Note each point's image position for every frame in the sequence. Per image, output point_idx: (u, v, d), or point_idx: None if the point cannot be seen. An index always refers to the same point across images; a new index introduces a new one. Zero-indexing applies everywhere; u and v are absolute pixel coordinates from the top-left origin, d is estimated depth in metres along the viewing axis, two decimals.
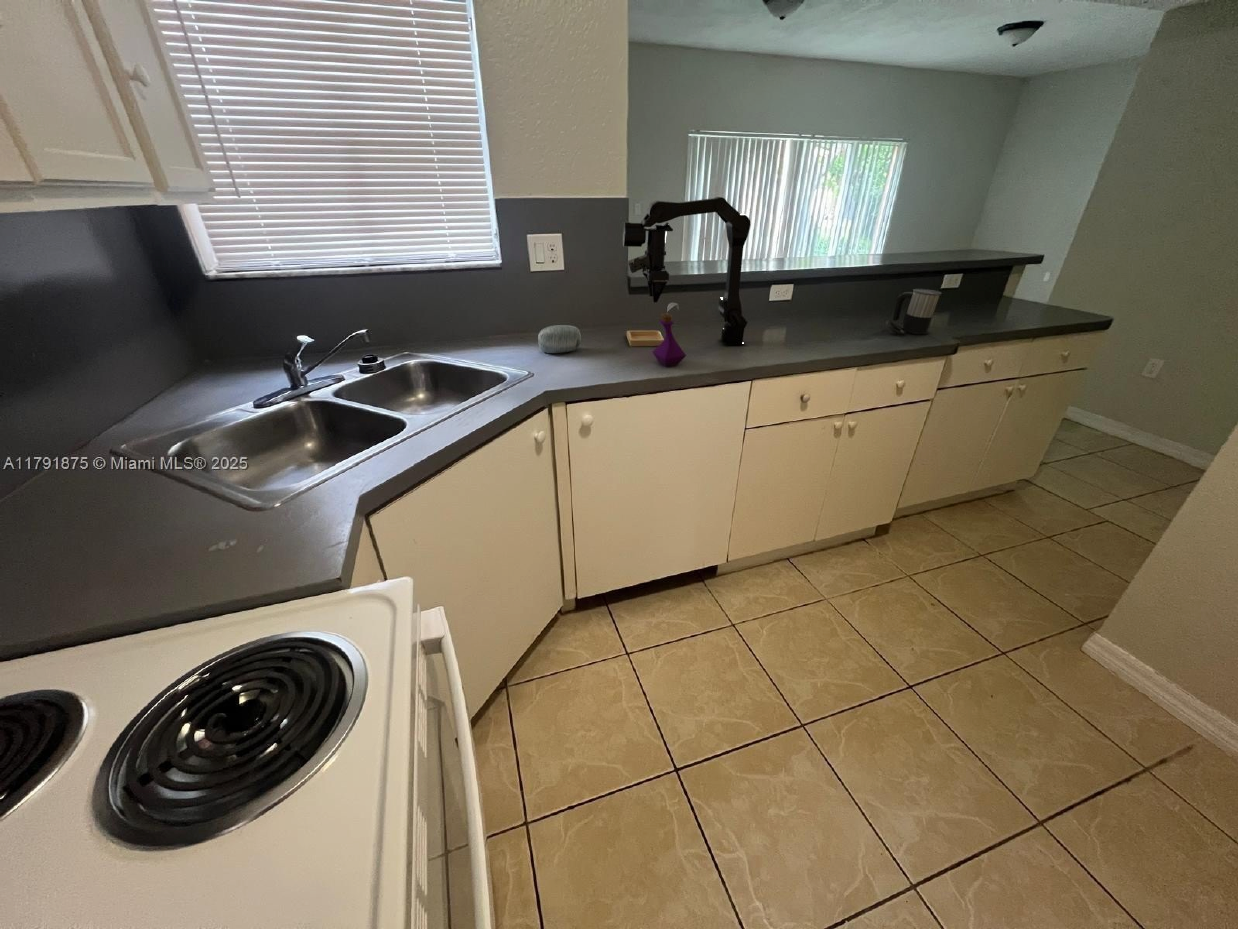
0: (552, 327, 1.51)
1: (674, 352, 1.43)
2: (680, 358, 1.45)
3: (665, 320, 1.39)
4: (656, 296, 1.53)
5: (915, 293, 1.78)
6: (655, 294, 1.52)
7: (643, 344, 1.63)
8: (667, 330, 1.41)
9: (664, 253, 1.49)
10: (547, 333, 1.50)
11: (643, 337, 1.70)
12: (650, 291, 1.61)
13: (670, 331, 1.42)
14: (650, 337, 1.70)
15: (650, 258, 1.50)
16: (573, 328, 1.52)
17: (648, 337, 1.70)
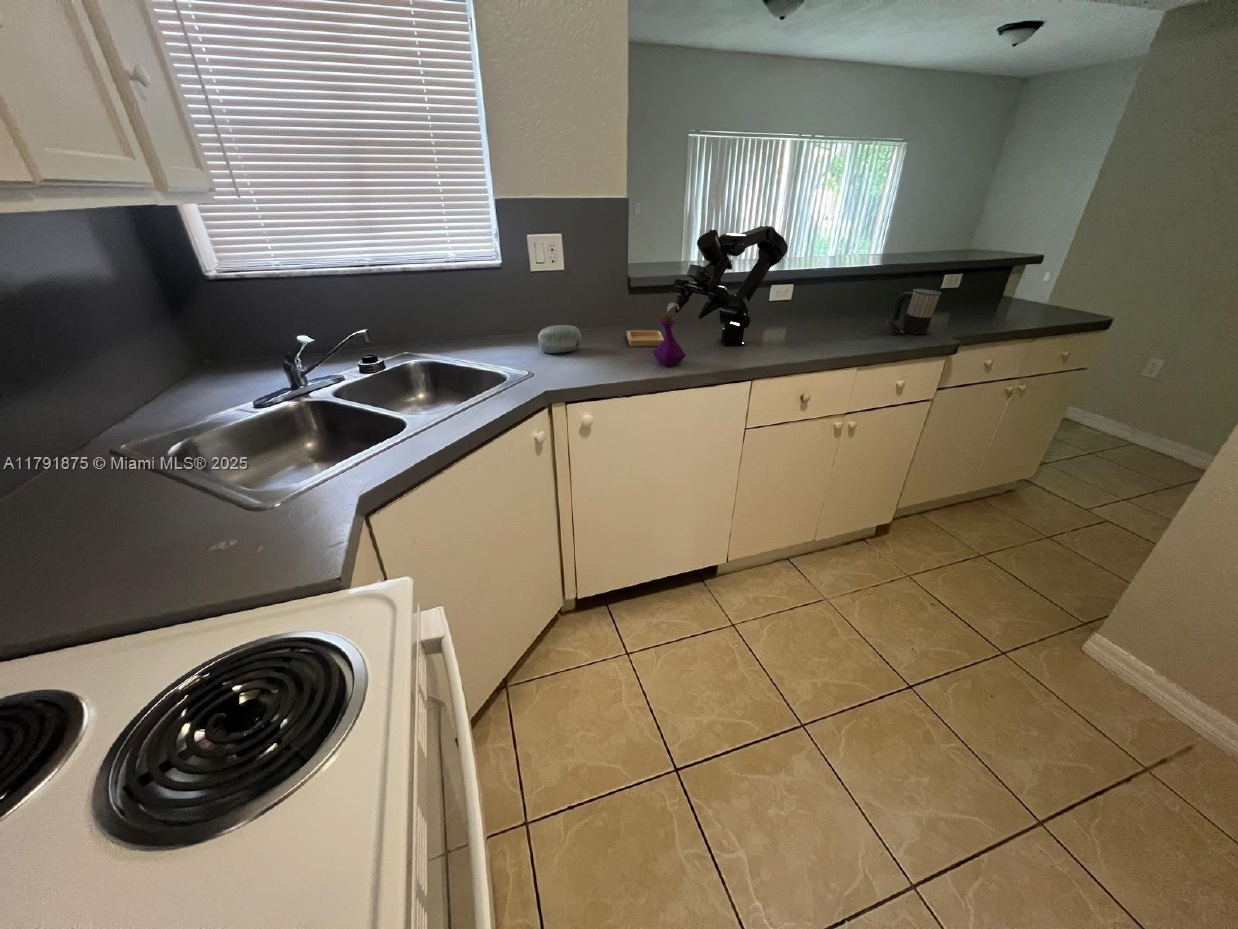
0: (552, 327, 1.51)
1: (674, 352, 1.43)
2: (680, 358, 1.45)
3: (665, 320, 1.39)
4: (704, 313, 1.43)
5: (915, 293, 1.78)
6: (705, 311, 1.42)
7: (643, 344, 1.63)
8: (667, 330, 1.41)
9: (720, 282, 1.47)
10: (547, 333, 1.50)
11: (643, 337, 1.70)
12: None
13: (670, 331, 1.42)
14: (650, 337, 1.70)
15: (712, 277, 1.43)
16: (573, 328, 1.52)
17: (648, 337, 1.70)
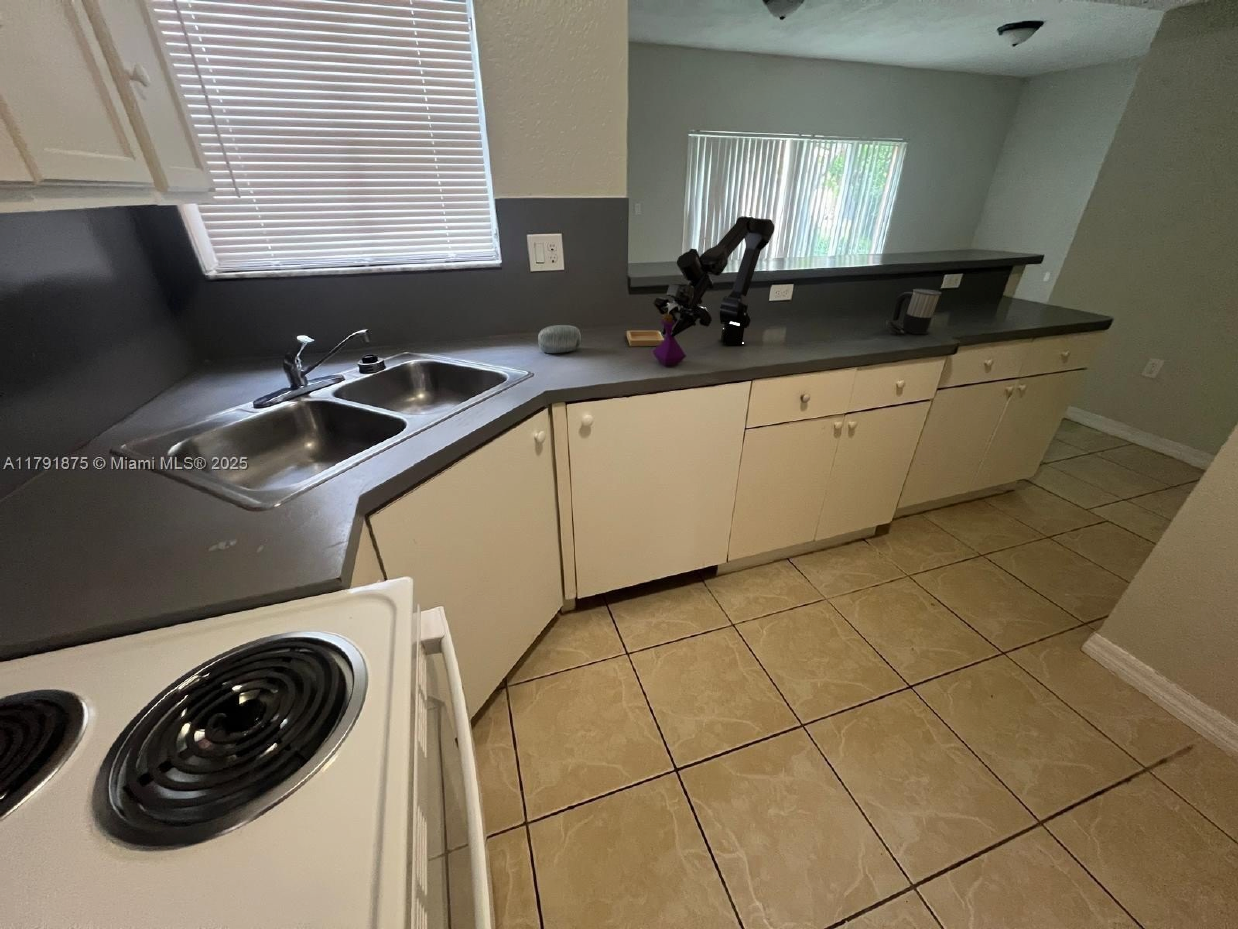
0: (552, 327, 1.51)
1: (675, 352, 1.43)
2: (681, 358, 1.45)
3: (666, 320, 1.39)
4: (676, 332, 1.41)
5: (915, 293, 1.78)
6: (677, 329, 1.41)
7: (643, 344, 1.63)
8: (668, 330, 1.41)
9: (701, 301, 1.43)
10: (547, 333, 1.50)
11: (643, 337, 1.70)
12: (665, 329, 1.43)
13: (671, 331, 1.41)
14: (650, 337, 1.70)
15: None
16: (573, 328, 1.52)
17: (648, 337, 1.70)
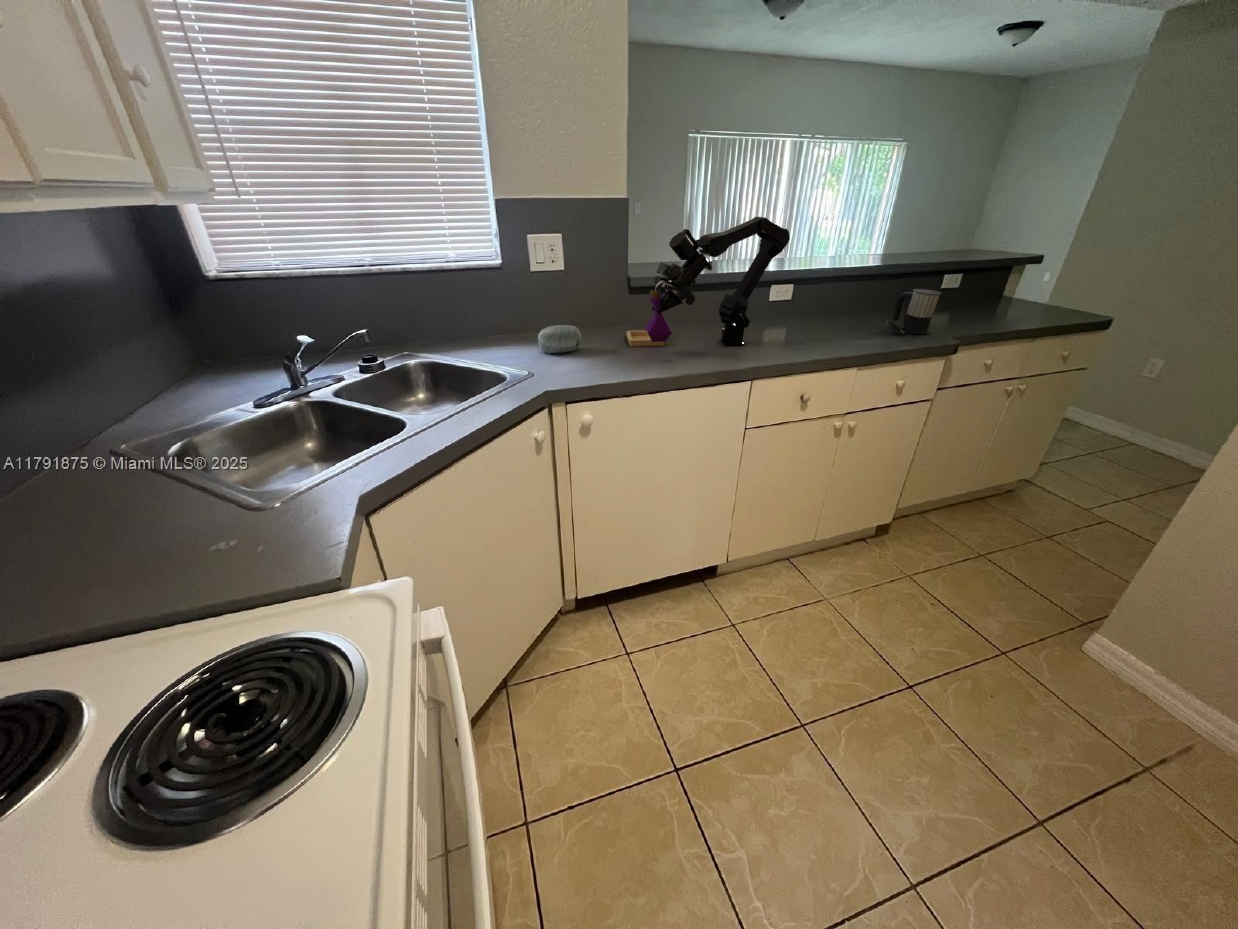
0: (552, 327, 1.51)
1: (660, 328, 1.50)
2: (666, 335, 1.51)
3: (652, 296, 1.47)
4: (662, 308, 1.48)
5: (915, 293, 1.78)
6: (663, 306, 1.48)
7: (643, 344, 1.63)
8: (655, 306, 1.49)
9: (694, 282, 1.47)
10: (547, 333, 1.50)
11: (643, 337, 1.70)
12: None
13: None
14: None
15: (682, 276, 1.45)
16: (573, 328, 1.52)
17: (648, 337, 1.70)
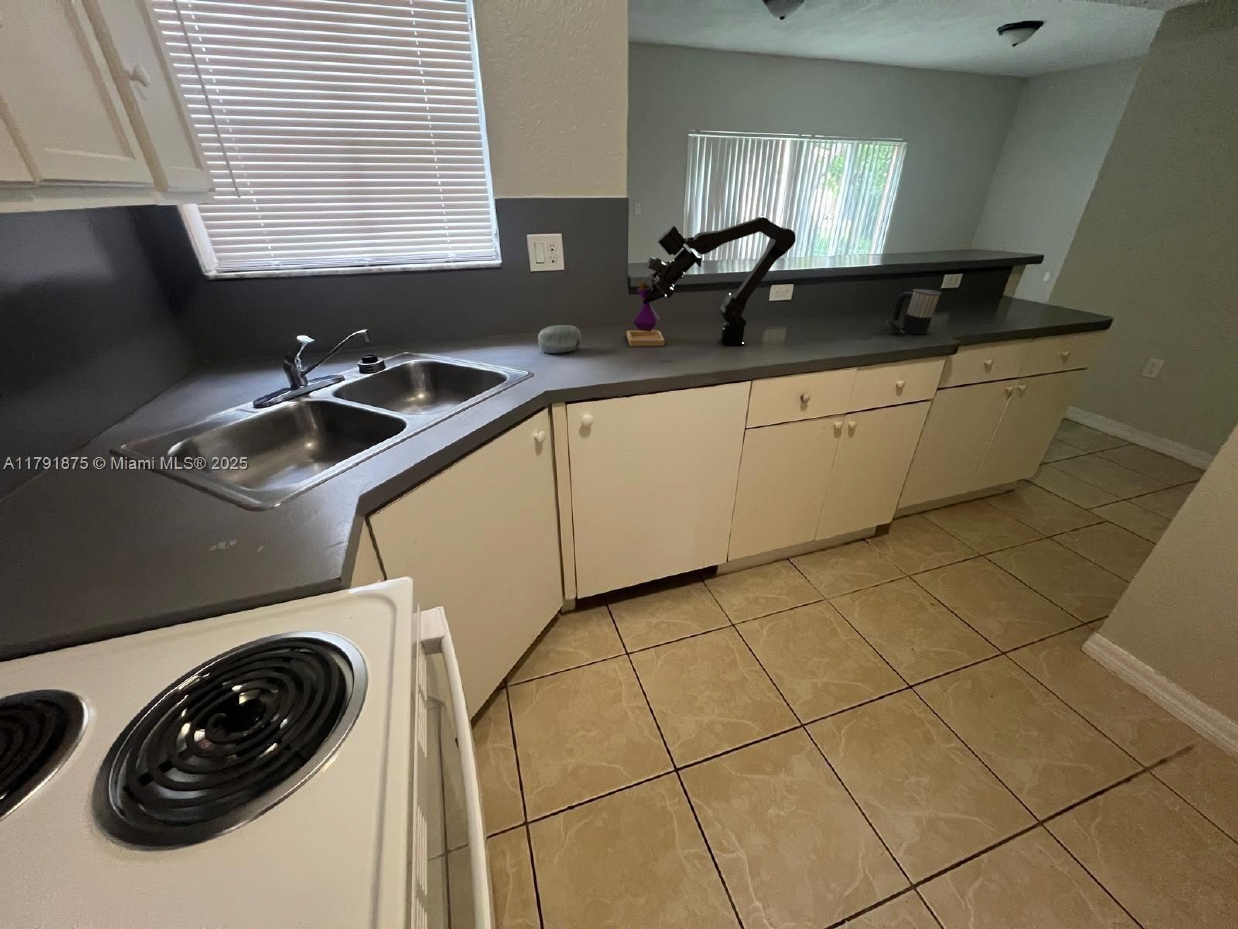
0: (552, 327, 1.51)
1: (644, 318, 1.60)
2: (650, 325, 1.61)
3: (639, 287, 1.58)
4: (648, 300, 1.58)
5: (915, 293, 1.78)
6: (648, 297, 1.58)
7: (643, 344, 1.63)
8: (642, 297, 1.59)
9: (680, 276, 1.54)
10: (547, 333, 1.50)
11: (643, 337, 1.70)
12: None
13: None
14: (650, 337, 1.70)
15: (668, 270, 1.54)
16: (573, 328, 1.52)
17: (648, 337, 1.70)
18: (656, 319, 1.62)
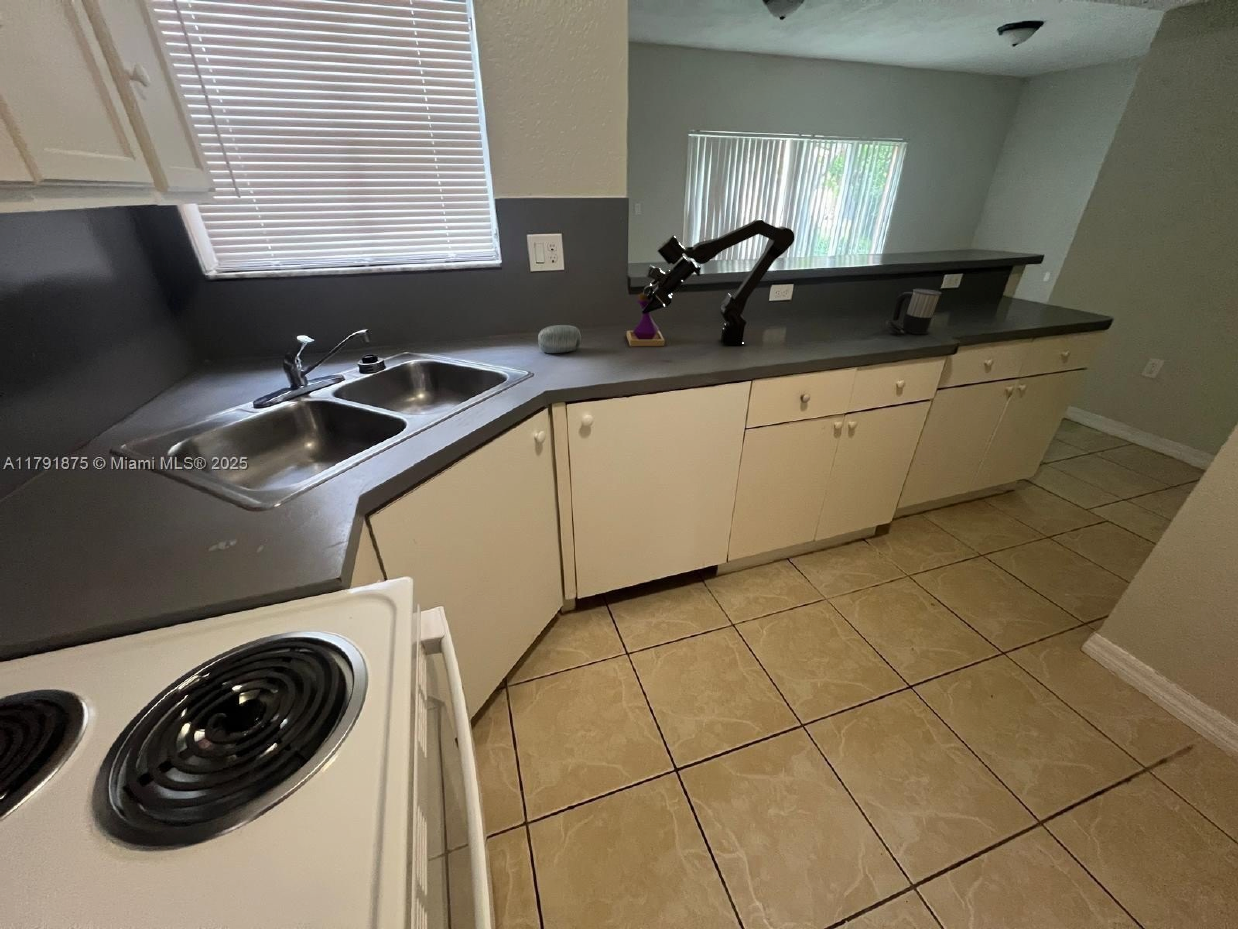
0: (552, 327, 1.51)
1: (644, 329, 1.63)
2: (649, 335, 1.63)
3: (639, 298, 1.61)
4: (647, 310, 1.57)
5: (915, 293, 1.78)
6: (648, 308, 1.57)
7: (643, 344, 1.63)
8: (642, 308, 1.62)
9: (679, 285, 1.56)
10: (547, 333, 1.50)
11: None
12: None
13: None
14: None
15: (667, 279, 1.55)
16: (573, 328, 1.52)
17: None
18: (655, 330, 1.64)
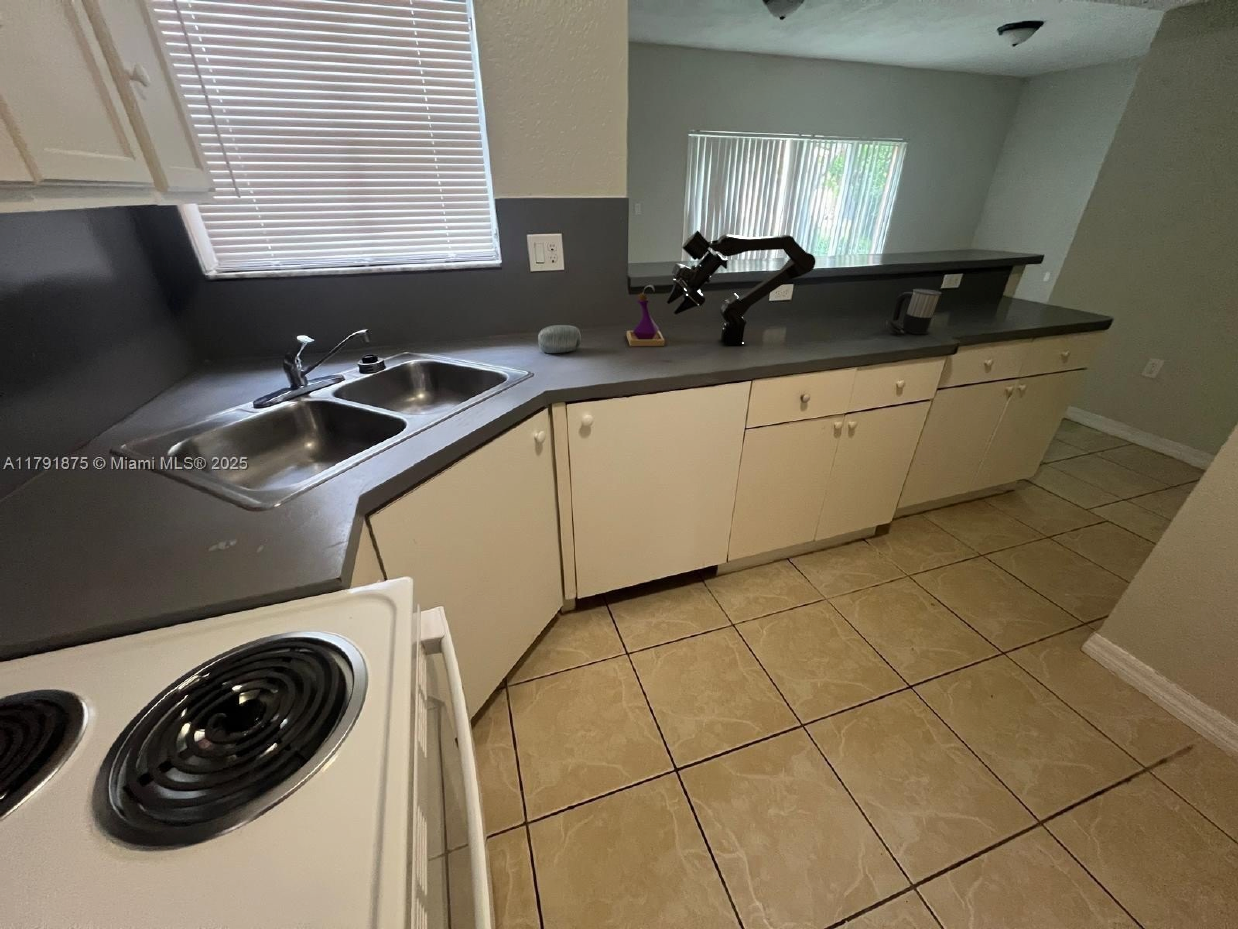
0: (552, 327, 1.51)
1: (644, 329, 1.63)
2: (649, 335, 1.63)
3: (639, 298, 1.61)
4: (679, 310, 1.57)
5: (915, 293, 1.78)
6: (680, 308, 1.57)
7: (643, 344, 1.63)
8: (642, 308, 1.62)
9: (708, 281, 1.56)
10: (547, 333, 1.50)
11: None
12: (669, 299, 1.65)
13: (644, 309, 1.62)
14: None
15: (696, 276, 1.54)
16: (573, 328, 1.52)
17: None
18: (655, 330, 1.64)
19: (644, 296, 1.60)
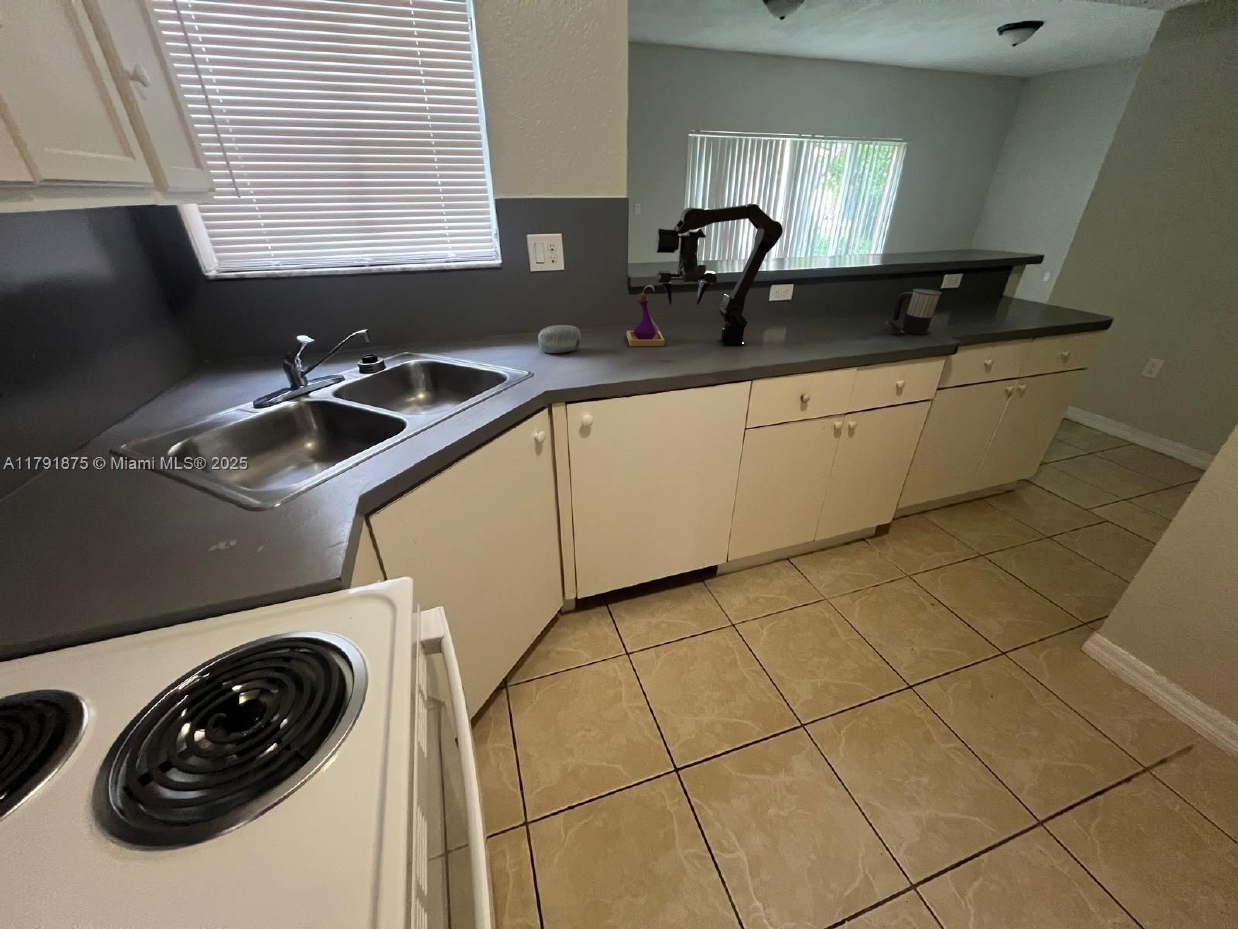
0: (552, 327, 1.51)
1: (644, 329, 1.63)
2: (649, 335, 1.63)
3: (639, 298, 1.61)
4: None
5: (915, 293, 1.78)
6: None
7: (643, 344, 1.63)
8: (642, 308, 1.62)
9: None
10: (547, 333, 1.50)
11: None
12: None
13: (644, 309, 1.62)
14: None
15: None
16: (573, 328, 1.52)
17: None
18: (655, 330, 1.64)
19: (644, 296, 1.60)
